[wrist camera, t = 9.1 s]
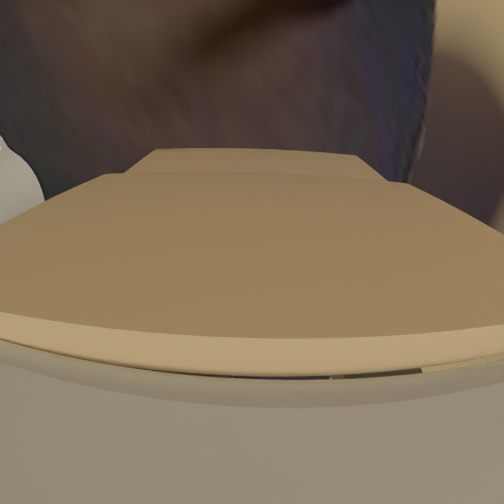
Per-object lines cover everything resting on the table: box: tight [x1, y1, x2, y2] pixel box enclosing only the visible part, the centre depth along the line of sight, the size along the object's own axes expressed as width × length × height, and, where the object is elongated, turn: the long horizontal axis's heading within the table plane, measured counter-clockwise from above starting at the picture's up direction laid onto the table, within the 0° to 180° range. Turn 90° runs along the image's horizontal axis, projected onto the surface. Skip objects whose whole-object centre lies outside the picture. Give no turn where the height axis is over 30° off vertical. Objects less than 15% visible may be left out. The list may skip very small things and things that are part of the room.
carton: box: [125, 148, 387, 181], centre depth 29 cm, size 20×16×12 cm
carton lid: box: [0, 172, 504, 376], centre depth 12 cm, size 20×16×1 cm
